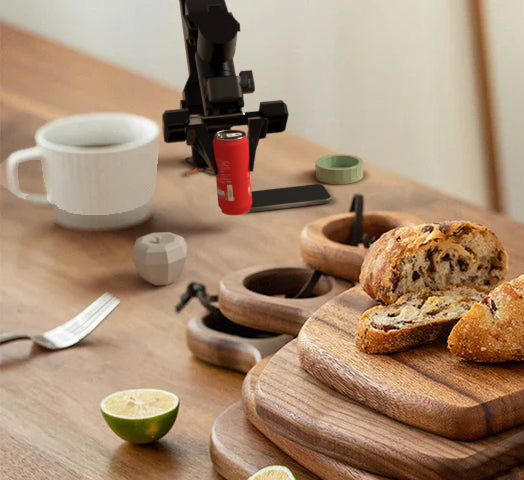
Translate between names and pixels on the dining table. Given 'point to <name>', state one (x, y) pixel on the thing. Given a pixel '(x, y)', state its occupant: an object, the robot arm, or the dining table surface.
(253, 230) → the dining table surface
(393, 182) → the dining table surface
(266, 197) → the smartphone
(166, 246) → the apple
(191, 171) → the necklace
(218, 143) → the beverage can
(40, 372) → the dining table surface
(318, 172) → the ring
